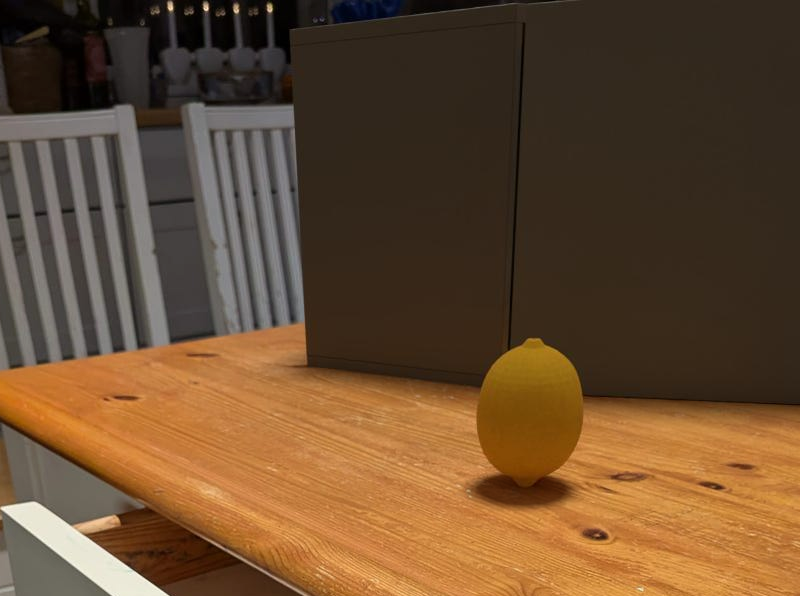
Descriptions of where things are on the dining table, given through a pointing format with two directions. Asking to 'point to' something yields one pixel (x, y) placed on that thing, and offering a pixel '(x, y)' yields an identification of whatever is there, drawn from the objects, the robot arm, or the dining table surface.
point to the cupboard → (409, 190)
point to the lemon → (530, 412)
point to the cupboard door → (662, 196)
